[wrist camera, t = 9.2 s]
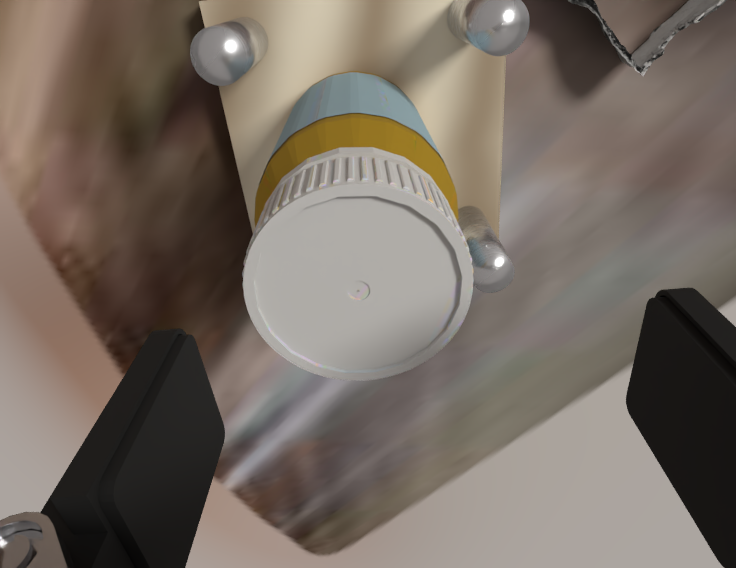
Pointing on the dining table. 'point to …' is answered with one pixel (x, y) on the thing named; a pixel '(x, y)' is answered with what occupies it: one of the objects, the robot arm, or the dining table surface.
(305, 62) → the holder base
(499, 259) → the holder pins
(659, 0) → the dining table surface
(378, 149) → the bottle
